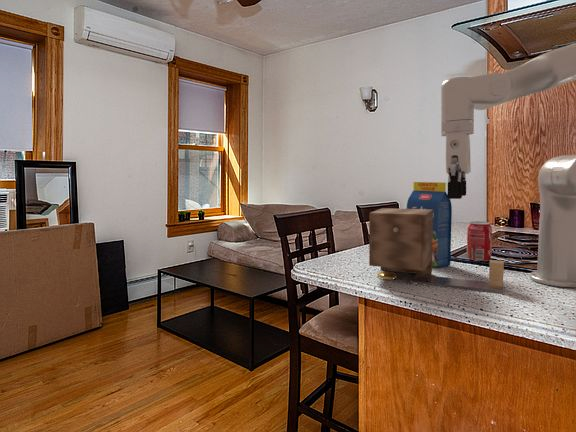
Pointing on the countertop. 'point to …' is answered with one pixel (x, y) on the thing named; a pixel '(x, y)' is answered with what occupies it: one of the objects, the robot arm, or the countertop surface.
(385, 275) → the brass token
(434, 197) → the blue food package
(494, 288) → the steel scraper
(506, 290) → the countertop surface
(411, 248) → the walnut cabinet
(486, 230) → the soda can
